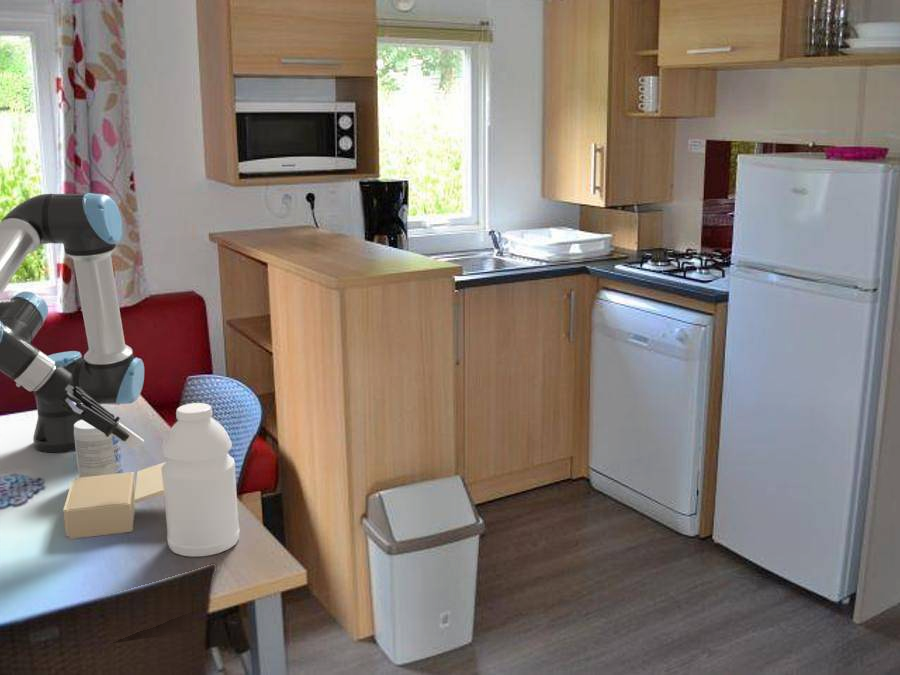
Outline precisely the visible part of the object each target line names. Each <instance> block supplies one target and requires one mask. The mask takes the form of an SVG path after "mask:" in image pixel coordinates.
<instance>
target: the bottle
mask: <svg viewBox="0 0 900 675" xmlns="http://www.w3.org/2000/svg"><path fill="white" fill-rule="evenodd" d="M175 415H176V420H177V421H176V422H175V423H174V424H173V425H172V427H171V428H170V429H169V431H168V432H167V433H166V435H165V438H164V439H163V442H162V447H161V455H162V456H163V457H165V459H167V460H166V461H164V462H165V464H164V465H163V466H162V479H163V488H164V494H163V498H164V508H165V519H166V528H167V530H166V531H167V533H166V535H167V536H166V539H167V544H168V548H169V549H170V550H171V551H172V552H173V553H174V554H177V555H179V556H184V557H192V558H193V557H194V558H195V557H207V556H213V555H217V554H220V553H223V552H224V551H228V550H229V549H231V548H233V547H234V546H236V545H237V543H238V541H239V539H240V535H241V534H240V532H241V530H240V525H239V524H240V523H239V510H238V509H239V508H238V495H237V494H238V493H237V492H238V491H237V479H236V478H237V477H236V475H237V474H236V463H235V462H236V461H235V458H234V457H232V456H231V455H230V454H229V452H230V450H232V448H233V443H232V440H231V438H230V436H229V433H228V432H227V430H226V429H225V428H224V426H223V425H222V424H221V423H219V422H218V421H217V420H216V419H215V418H213V409H212V406H211V405H210V404H207V403H203V402H192V403H187V404H183V405H180V406H179V407H177V408H176V412H175Z"/></svg>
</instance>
